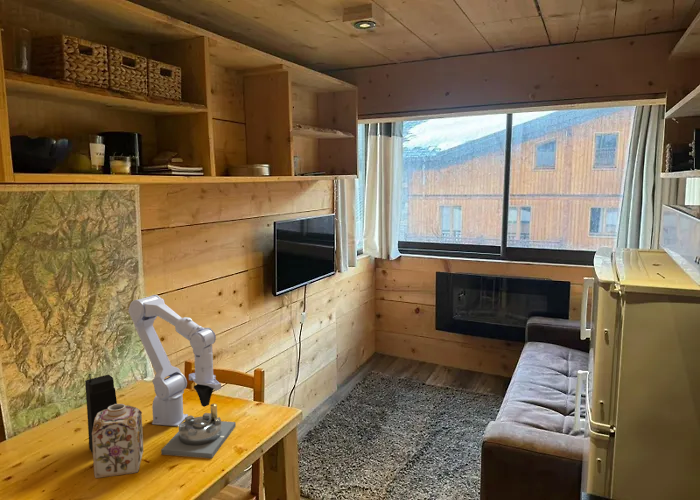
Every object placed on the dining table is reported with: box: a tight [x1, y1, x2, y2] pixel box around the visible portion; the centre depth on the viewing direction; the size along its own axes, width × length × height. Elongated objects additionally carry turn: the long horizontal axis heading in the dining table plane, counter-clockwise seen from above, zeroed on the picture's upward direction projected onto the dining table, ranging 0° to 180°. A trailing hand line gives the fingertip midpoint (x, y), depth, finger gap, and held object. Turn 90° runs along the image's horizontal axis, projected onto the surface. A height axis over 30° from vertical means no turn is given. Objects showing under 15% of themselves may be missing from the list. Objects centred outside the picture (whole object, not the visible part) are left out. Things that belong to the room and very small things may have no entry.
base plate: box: [160, 420, 236, 459], centre depth 161 cm, size 16×20×2 cm
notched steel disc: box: [178, 403, 222, 445], centre depth 160 cm, size 13×13×8 cm
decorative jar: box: [91, 403, 144, 479], centre depth 145 cm, size 12×12×18 cm
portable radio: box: [84, 373, 118, 454], centre depth 154 cm, size 8×6×25 cm
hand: (205, 405), depth 167 cm, fingers closed
